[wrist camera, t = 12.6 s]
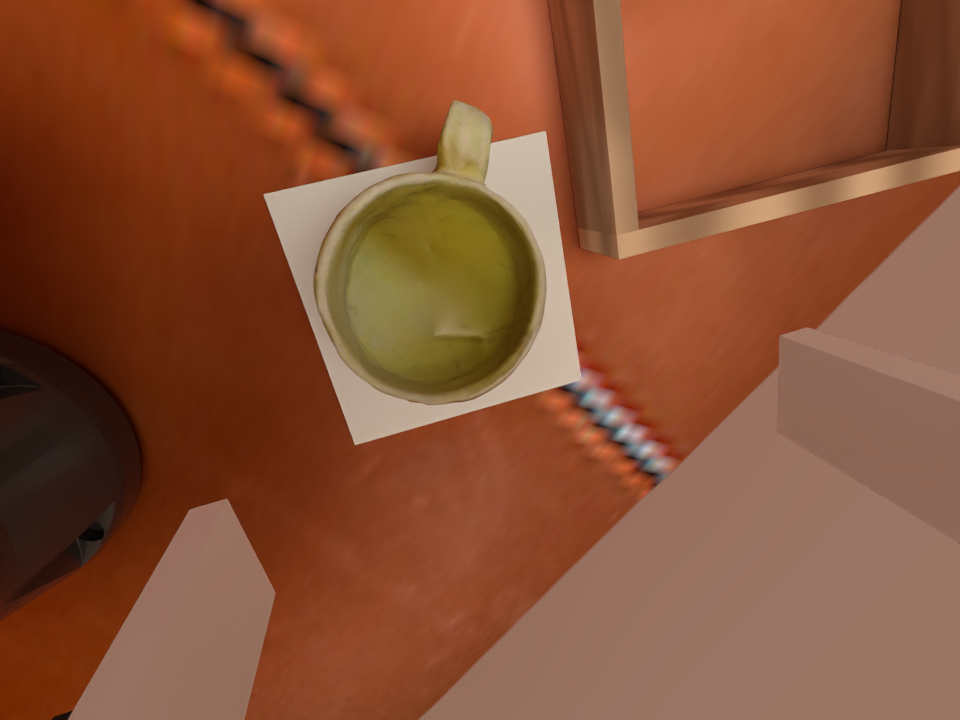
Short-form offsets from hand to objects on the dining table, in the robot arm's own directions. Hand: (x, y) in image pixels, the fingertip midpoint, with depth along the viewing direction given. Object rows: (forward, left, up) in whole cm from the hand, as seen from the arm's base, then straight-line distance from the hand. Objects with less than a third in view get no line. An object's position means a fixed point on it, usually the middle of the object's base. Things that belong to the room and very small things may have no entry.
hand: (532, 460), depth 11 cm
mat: (0, 0, -18) cm, 18 cm away
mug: (+1, 0, -18) cm, 18 cm away
